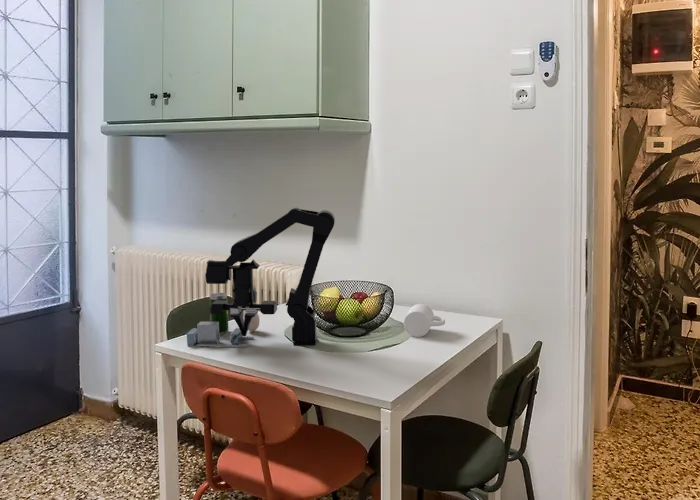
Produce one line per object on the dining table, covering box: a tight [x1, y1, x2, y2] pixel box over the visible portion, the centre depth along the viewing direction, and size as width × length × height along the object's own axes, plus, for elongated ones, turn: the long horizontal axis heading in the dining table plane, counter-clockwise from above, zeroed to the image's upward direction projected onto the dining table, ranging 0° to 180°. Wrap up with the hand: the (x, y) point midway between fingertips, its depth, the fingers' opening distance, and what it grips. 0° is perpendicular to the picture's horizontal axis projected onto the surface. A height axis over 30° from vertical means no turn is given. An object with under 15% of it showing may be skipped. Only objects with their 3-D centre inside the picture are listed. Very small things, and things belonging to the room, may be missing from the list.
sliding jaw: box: [229, 327, 244, 345], centre depth 188 cm, size 2×10×3 cm, turn 177°
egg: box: [245, 311, 260, 333], centre depth 202 cm, size 5×5×7 cm
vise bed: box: [186, 327, 255, 348], centre depth 190 cm, size 18×8×4 cm, turn 87°
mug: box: [403, 303, 446, 338], centre depth 198 cm, size 12×10×8 cm
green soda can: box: [209, 292, 229, 335], centre depth 201 cm, size 5×5×12 cm
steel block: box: [196, 321, 221, 344], centre depth 190 cm, size 4×6×6 cm, turn 87°
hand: (244, 335), depth 190 cm, fingers closed
